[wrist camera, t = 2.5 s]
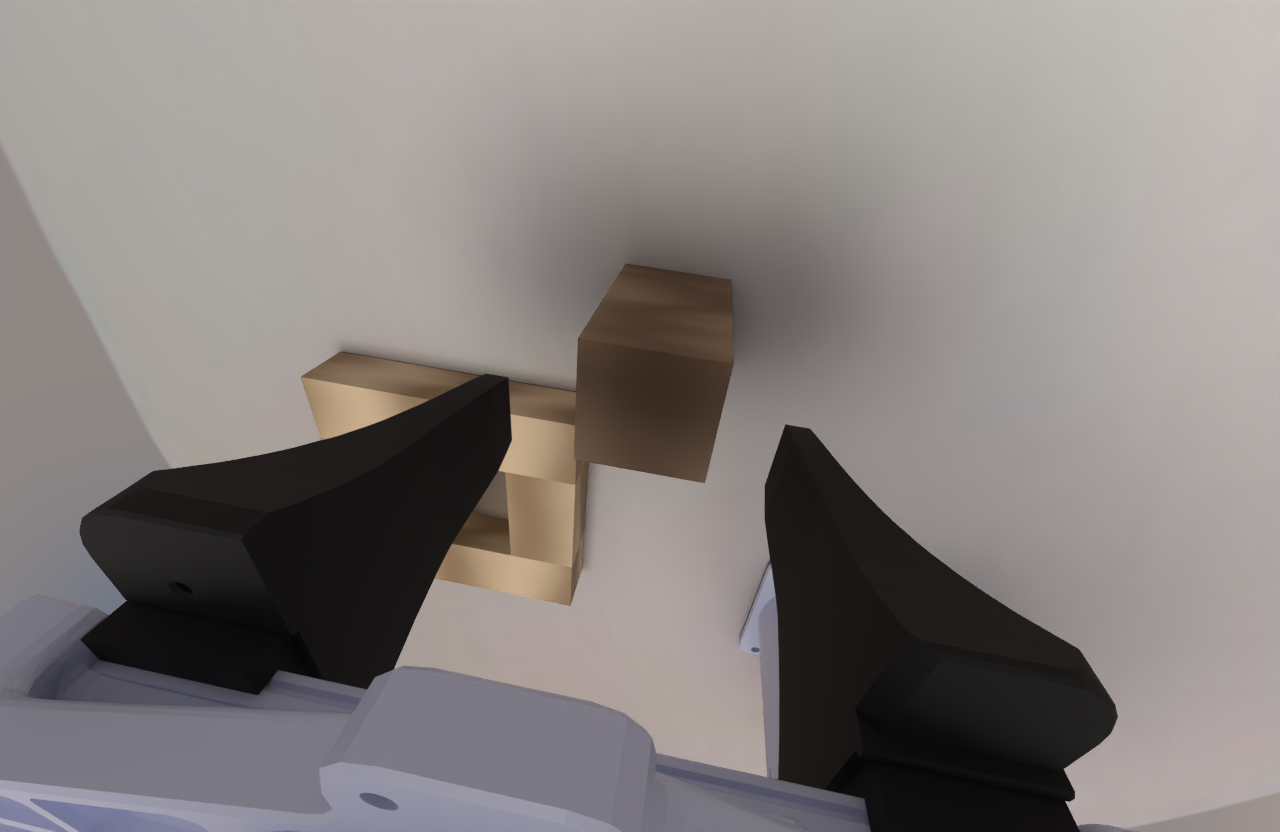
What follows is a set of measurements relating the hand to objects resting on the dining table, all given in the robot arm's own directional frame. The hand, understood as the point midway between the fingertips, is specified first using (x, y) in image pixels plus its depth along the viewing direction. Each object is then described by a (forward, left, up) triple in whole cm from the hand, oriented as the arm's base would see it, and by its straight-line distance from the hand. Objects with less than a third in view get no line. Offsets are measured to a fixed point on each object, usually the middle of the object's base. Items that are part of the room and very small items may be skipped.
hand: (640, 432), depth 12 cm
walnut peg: (0, 0, -8) cm, 8 cm away
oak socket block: (+9, +10, -8) cm, 16 cm away
